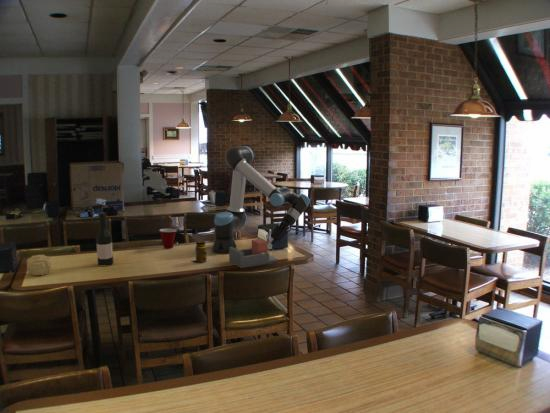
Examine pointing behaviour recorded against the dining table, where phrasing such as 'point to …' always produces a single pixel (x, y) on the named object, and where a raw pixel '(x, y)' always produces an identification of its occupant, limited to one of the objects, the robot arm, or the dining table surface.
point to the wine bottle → (104, 243)
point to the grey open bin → (249, 257)
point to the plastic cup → (168, 237)
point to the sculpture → (38, 265)
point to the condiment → (200, 253)
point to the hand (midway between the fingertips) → (267, 248)
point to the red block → (259, 246)
